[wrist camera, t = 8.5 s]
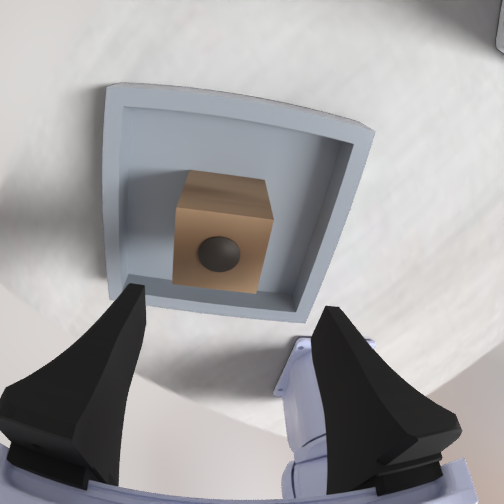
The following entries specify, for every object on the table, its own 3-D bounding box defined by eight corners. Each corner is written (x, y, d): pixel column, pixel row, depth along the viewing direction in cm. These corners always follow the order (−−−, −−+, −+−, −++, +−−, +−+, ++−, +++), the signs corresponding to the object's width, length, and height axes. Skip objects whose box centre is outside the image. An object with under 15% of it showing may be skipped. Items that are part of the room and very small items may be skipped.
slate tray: (299, 300, 25) (305, 323, 23) (118, 277, 23) (109, 299, 21) (359, 121, 18) (375, 131, 15) (122, 82, 15) (106, 86, 13)
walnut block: (251, 242, 21) (256, 295, 17) (183, 234, 21) (171, 285, 16) (264, 179, 19) (274, 220, 15) (189, 169, 18) (175, 208, 14)
